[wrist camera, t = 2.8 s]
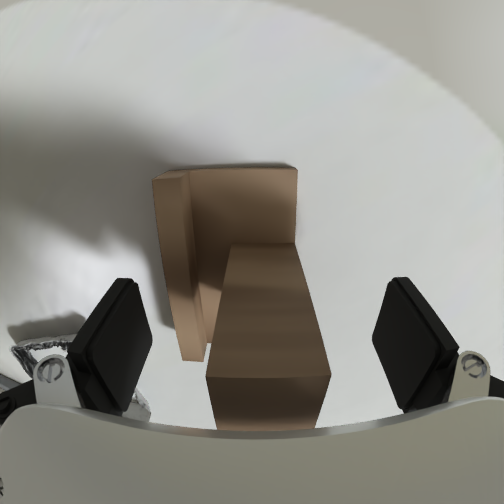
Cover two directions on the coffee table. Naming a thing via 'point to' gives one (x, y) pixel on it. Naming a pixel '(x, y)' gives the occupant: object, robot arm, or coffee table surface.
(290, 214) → the tan l-shaped bracket
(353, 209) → the coffee table surface
